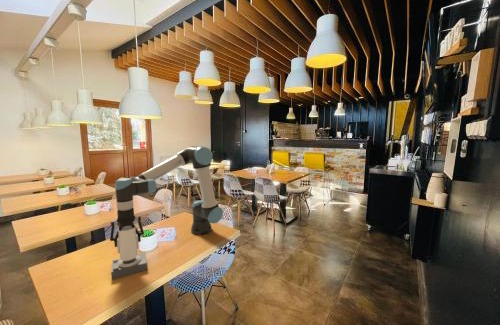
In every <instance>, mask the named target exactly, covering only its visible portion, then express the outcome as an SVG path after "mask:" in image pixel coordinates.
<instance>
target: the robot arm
mask: <svg viewBox="0 0 500 325" xmlns="http://www.w3.org/2000/svg"><path fill="white" fill-rule="evenodd" d="M212 160H213V153H212V151H211V149H210V148H208V147H206V146H200V145H199V146H198V145H197V146H195V145H193V146H188V147H186V148H184V149H183V150H180V151H178V152H176V154H175V155H174V156H172V157H170V158H169V159H166V160H165V161H163V162H160V164H157V165H155V166H154V167H152V168H150V169H148V170H146V171H144V172H142V173H141V174H138V175H137V176H131V177H129V178H128V177H126V178H119V179H117V180H115V186H114V187H115V189H114V190H115V197H116V200H115V201H116V202H115V203H116V209H117V210H116V212H117V214H116V215H117V219H115V220H111V221H110V224H111V228H110V237H109V241H110V242H114V247H115V248H117V249H116V250H117V254H120V251H119V239H118V237H119V235H118V230H119V231H121V230H122V228H123V227H125V226H130V225H131V227H132V228H134V227H135V226H136V225H135V223H134V221H135V220H136V222H137V223H138V226H139V230H138V228H137V227H136V228H135V229H136V239H137V250H139V249H140V248H139V245H140V244H139V243H141V240H142V239H141V236H143V235H144V234H145V231H144V228H143V224H142V222H141V221H142V217H141V215H138V216H135V208H134V196H140V195H146V194H152V193H154V192H156V191H157V182H156V181H157V180H158V179H160V178H161V177H164V176H166V175H167V174H169V173H170V172H173V171H174V170H176V169H178V168H179V167H185V166H186V165H189V164H192V168H193V169H194V170H195V171H196V176H197V180H198V184H199V189H200V195H201V199H200V200H196V201H193V203H192V206H191V208H192V224H191V228H190V232H191V234H193V235H196V234H202V235H206V234H209V233H210V232H212V230H211V229H212V225H211V224H217V223H219V222H220V221H221V220H222V218H223V215H224V211H223V208H221V207H220V206H219V201H218V200H216V197H215V190H214V186H213V180H212V175H211V170H210V167H211V166H212V164H211V163H212ZM117 224H118V225H119V227H118V228H119V229H118V228H117V231H116V233H115V234H114V232H115V225H117ZM208 232H209V233H208ZM114 235H115V236H114Z"/></svg>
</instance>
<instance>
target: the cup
mask: <svg viewBox="0 0 500 325" xmlns="http://www.w3.org/2000/svg"><path fill="white" fill-rule="evenodd" d="M135 228H137V226H136V225H135V227H134V228H132V227H131V225H130V226H125V227H123V228H122V230H121V231H119V230H118V229H119V227H118V228H117V231H118V235H119V237H118V239H119V251H120V253H119V259H120V260H122V261H128V260H131V259H134V258H135V257H137V255H138V254H139V252H138V249H137V239H136V235H137V234H136V229H135Z"/></svg>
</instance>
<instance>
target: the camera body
mask: <svg viewBox="0 0 500 325" xmlns="http://www.w3.org/2000/svg"><path fill="white" fill-rule="evenodd" d="M111 261H112V262H111V270H110V274H111V280H112V281H113V280H116V279H119V278H123V277H127V276H130V275H133V274H136V273H141V272H145V271H148V262H147V261H148V260H147V255H146V252H142V253H138V255H137V257H135V258H134V259H131V260H128V261H122V260H120V258H114V259H113V260H111Z"/></svg>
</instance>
